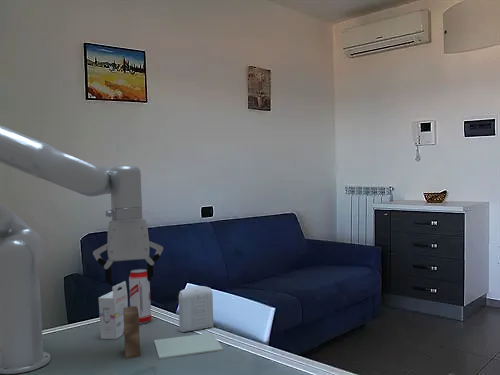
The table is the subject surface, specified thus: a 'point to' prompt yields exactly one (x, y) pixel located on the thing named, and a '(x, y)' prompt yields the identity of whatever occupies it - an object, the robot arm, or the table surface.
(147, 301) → the red striped can
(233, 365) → the table surface
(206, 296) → the photo printer
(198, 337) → the board
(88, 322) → the table surface
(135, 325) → the slab
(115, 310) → the ink cartridge box
